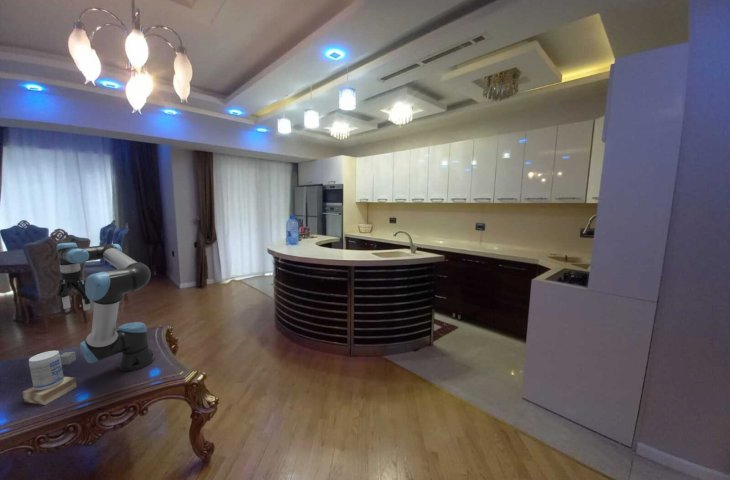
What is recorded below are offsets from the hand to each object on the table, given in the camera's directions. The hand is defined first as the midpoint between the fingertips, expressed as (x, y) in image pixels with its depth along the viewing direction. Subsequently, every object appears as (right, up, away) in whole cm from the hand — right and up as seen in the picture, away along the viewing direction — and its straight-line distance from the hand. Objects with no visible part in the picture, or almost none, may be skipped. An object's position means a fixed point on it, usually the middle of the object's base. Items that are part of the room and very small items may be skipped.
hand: (77, 308), depth 152 cm
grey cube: (-10, -32, +5) cm, 33 cm away
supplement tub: (+9, -30, -22) cm, 39 cm away
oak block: (+10, -35, -21) cm, 42 cm away
